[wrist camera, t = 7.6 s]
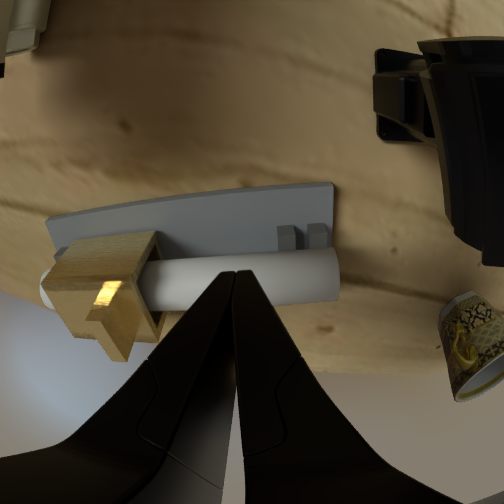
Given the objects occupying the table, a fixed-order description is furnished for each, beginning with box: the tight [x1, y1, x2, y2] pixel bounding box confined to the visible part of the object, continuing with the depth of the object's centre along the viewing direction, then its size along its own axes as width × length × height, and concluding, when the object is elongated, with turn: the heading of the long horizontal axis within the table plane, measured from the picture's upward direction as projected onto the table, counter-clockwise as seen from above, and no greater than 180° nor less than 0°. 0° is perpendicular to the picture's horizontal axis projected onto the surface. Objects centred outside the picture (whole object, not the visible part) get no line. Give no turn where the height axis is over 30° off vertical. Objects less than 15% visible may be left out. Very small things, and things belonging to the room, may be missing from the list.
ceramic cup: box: [438, 291, 504, 402], centre depth 23 cm, size 13×10×10 cm
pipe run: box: [40, 182, 340, 311], centre depth 21 cm, size 24×10×6 cm, turn 96°
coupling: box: [40, 231, 168, 362], centre depth 19 cm, size 8×6×8 cm
